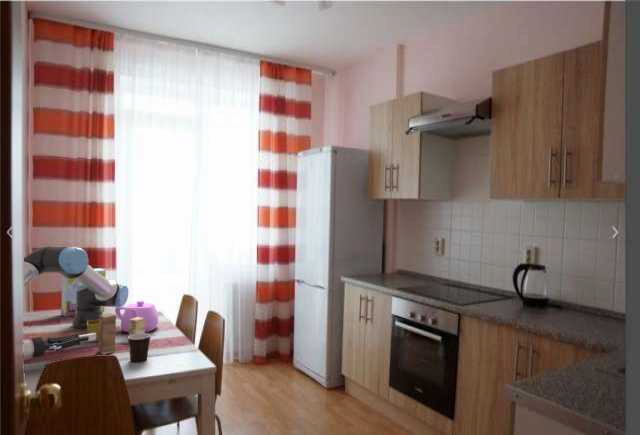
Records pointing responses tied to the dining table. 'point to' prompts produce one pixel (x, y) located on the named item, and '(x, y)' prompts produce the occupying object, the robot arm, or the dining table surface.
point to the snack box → (72, 295)
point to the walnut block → (107, 333)
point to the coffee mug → (138, 347)
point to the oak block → (136, 325)
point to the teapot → (138, 315)
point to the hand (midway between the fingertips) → (95, 336)
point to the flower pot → (93, 328)
